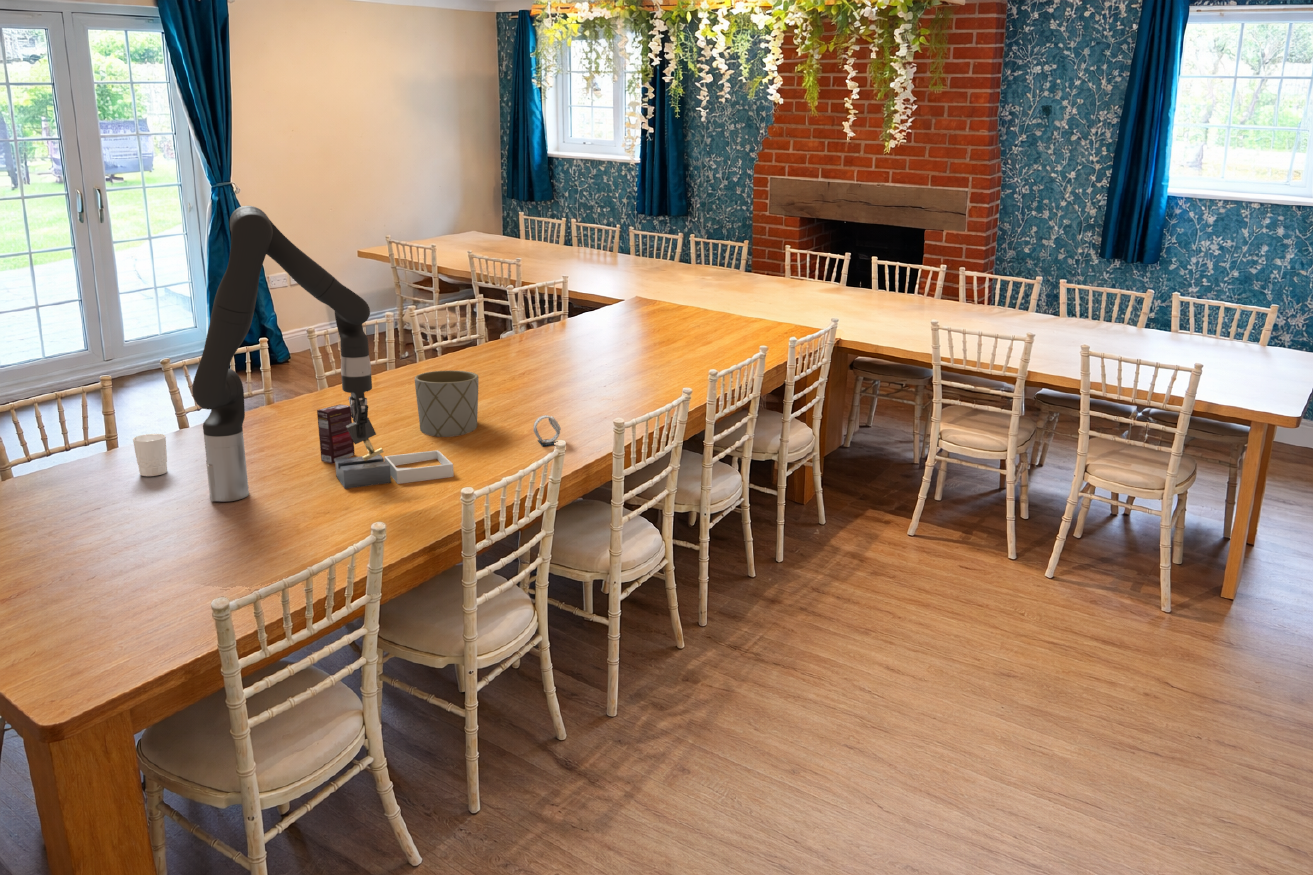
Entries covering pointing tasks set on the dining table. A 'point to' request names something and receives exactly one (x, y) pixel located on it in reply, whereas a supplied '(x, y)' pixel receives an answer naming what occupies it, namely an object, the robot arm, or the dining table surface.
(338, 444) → the supplement box
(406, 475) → the key tray
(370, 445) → the t key
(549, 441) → the watch
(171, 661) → the dining table surface
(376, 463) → the plate
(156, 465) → the white cup
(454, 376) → the planter
